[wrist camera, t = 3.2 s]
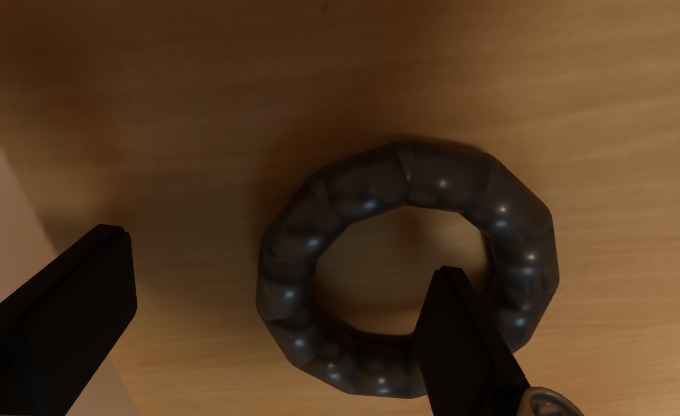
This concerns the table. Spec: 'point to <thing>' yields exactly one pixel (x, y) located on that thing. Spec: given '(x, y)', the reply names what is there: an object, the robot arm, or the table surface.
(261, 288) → the beaded bracelet
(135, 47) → the table surface
